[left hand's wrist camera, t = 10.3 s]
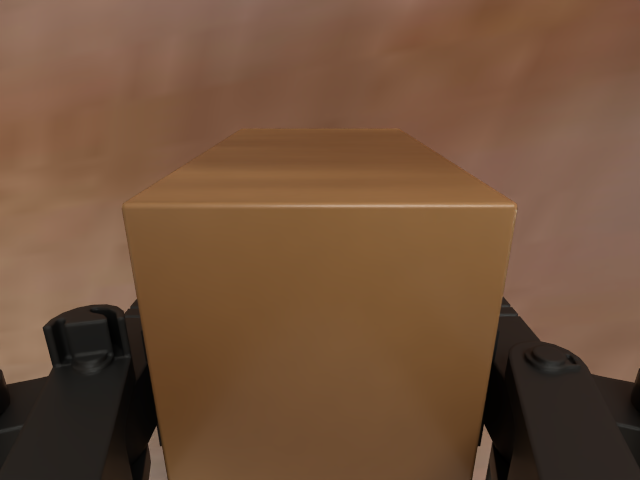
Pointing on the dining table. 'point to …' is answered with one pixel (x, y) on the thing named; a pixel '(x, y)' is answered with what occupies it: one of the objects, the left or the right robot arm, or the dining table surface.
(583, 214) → the dining table surface
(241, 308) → the post
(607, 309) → the dining table surface
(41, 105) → the dining table surface
